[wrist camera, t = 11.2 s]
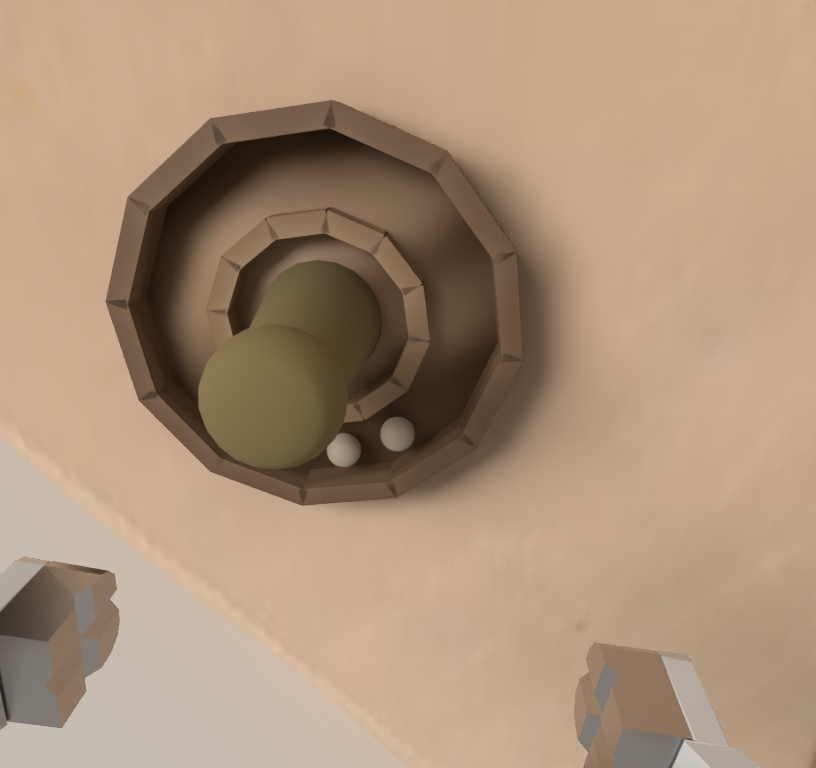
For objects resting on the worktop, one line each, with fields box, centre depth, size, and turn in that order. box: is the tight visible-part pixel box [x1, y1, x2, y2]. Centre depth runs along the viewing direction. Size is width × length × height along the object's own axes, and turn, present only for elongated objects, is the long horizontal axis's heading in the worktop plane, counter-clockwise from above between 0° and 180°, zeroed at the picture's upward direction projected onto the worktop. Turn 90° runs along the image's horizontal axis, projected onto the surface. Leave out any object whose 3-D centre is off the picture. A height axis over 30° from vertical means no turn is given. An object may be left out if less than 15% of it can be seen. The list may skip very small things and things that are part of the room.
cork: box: [198, 260, 382, 469], centre depth 25 cm, size 6×6×11 cm
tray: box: [106, 100, 523, 506], centre depth 29 cm, size 19×19×3 cm
